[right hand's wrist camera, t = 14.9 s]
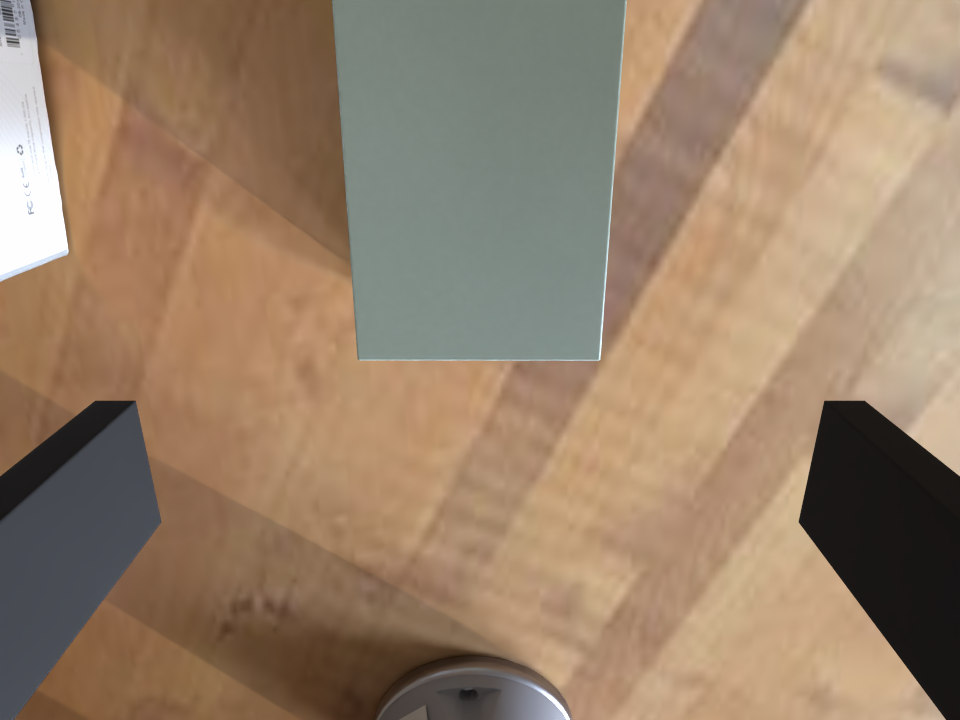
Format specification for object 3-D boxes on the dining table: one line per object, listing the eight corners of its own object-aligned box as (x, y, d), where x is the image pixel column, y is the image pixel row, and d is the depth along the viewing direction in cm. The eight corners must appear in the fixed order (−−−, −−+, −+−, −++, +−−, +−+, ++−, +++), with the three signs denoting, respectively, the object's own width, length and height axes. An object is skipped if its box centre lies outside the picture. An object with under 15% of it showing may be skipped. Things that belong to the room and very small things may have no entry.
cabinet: (365, -126, 31) (315, -224, 21) (593, -126, 31) (643, -223, 21) (387, 295, 38) (357, 360, 29) (570, 295, 38) (600, 361, 29)
